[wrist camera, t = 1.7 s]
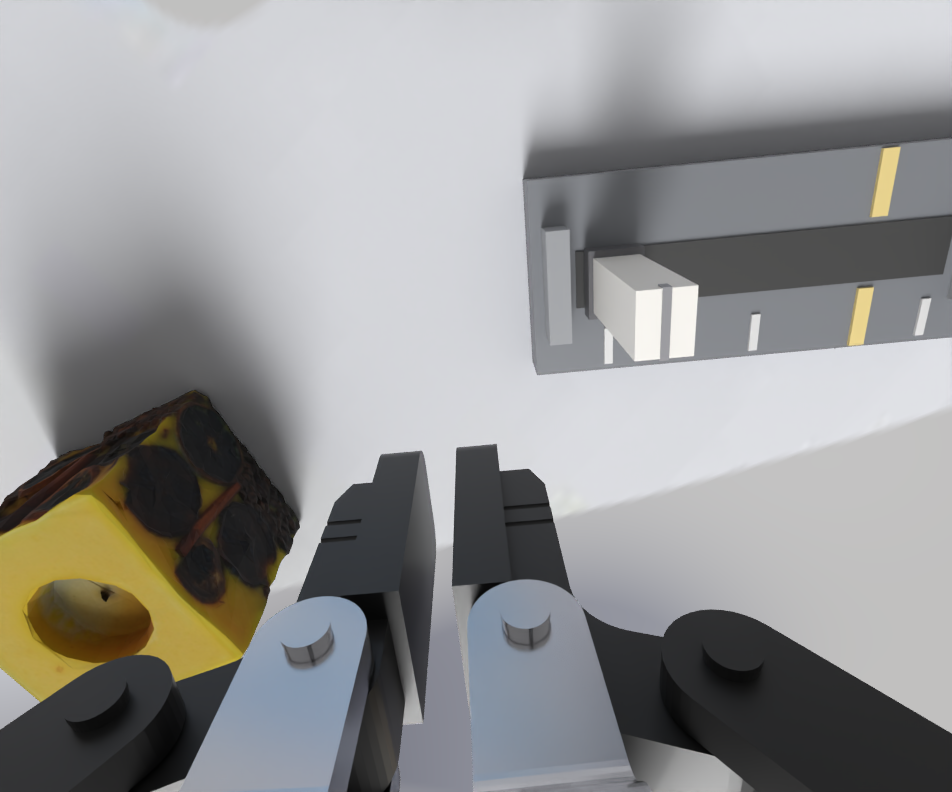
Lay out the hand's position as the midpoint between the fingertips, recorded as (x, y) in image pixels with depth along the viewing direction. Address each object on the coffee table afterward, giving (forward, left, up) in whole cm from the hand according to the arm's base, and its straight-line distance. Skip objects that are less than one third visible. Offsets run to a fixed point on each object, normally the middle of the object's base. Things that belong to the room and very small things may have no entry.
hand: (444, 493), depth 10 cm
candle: (+10, -17, -19) cm, 28 cm away
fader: (0, +7, -17) cm, 18 cm away
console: (0, +14, -19) cm, 24 cm away
